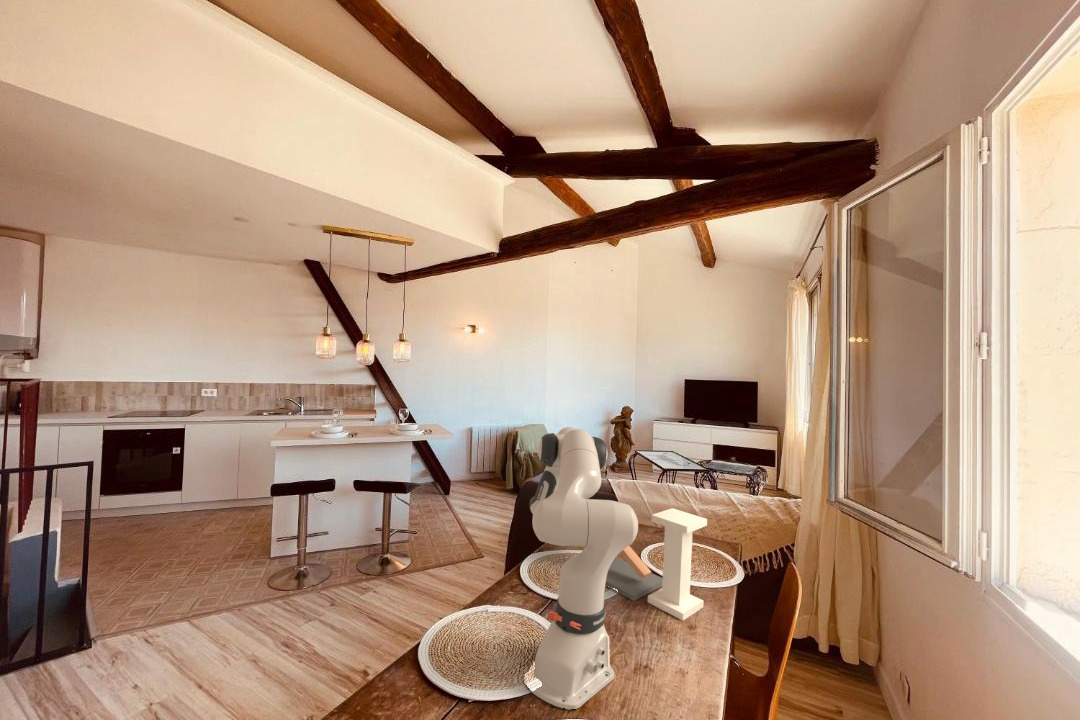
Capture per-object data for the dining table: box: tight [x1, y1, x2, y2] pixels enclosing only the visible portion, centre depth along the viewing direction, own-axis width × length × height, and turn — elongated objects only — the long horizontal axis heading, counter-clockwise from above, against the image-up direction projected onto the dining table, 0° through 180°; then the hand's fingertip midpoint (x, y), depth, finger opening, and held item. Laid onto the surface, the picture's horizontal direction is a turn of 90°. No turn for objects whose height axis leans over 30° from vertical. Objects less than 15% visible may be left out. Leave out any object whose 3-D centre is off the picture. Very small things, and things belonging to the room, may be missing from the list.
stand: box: [647, 507, 708, 621], centre depth 131 cm, size 12×12×27 cm
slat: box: [619, 545, 652, 579], centre depth 147 cm, size 24×4×2 cm
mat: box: [605, 556, 663, 602], centre depth 148 cm, size 26×18×2 cm
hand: (607, 526), depth 153 cm, fingers closed on slat, 4 cm apart
